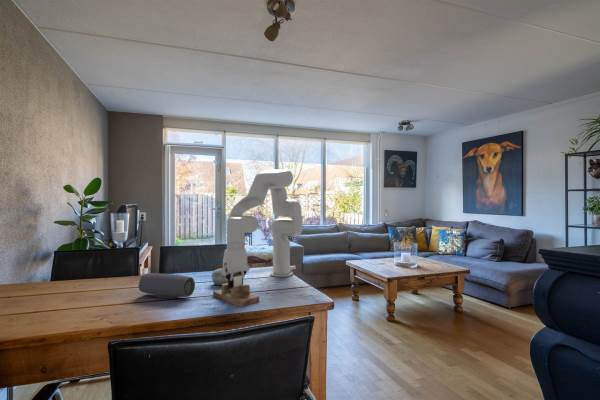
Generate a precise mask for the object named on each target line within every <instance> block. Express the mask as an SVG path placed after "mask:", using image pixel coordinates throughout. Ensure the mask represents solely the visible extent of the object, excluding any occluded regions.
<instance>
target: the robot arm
mask: <svg viewBox="0 0 600 400" xmlns="http://www.w3.org/2000/svg"><path fill="white" fill-rule="evenodd" d="M293 181H294V175H293V173H292V171H291V170H289V169H268V170H264V171H260V172H258V173H256V175H255V177H254V178H253V181H252V183H251V186H250V188H249V190H248V193H247V195H245V196H244V197H242V198H241V199H240V200H239V201H238V202H236V203H235V205H234V206H233V207H232V208H231V210H230V213H229V215H228V218H227V219H226V249H224V253H223V260H222V268H223V270H222V272H221V275H223V276H224V277H226V278H227V280H228V288H229V289H231V288H233V287H234V280H233V274H234V273H237V272H238V273H241V274H242V285H244V278H245V275H246V274H247V273H248V272H249V271H250V270H251V269H250V267H249V265H248V256H247V255H248V253H247V249H246V248H245V246H246V245H247V241H245V237H246V235H245V234H246V233H249V234H250V233H253V232H257V230H258V229H259V223H260V221H259V219H258V218H257V217H255V216H253V215H244V214H245V213H246V212H247V211H249V210H251V209H254V208H257V207H259V206H261V205H263V204H264V202H265V199H266V198H267V194H268V192H270V194H271V204H272V205H271V206H272V213H273V215H274V216H276V217H280V218H275V219H273V220H272V222H271V234H272V241H273V242H272V246H273V247H272V262H273V263H272V266H273V267H272V271H270V273H269V274H270V276H272V277H277V278H286V277H291V276H293V271H292V270H295V269H297V266H296V265H291V242H290V240H289V238H288V237H300V236H301V234H302V233H303V216H302V214H303V213H302V207H301V206H302V205H301V203H300V202H299V201H298V200H297V199H289V198H288V195H287V194H288V193H287V189H286V188H287V187H289V186H291V185H292V183H293ZM281 217H285V218H281ZM226 272H228V273H227V274H226Z"/></svg>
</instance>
